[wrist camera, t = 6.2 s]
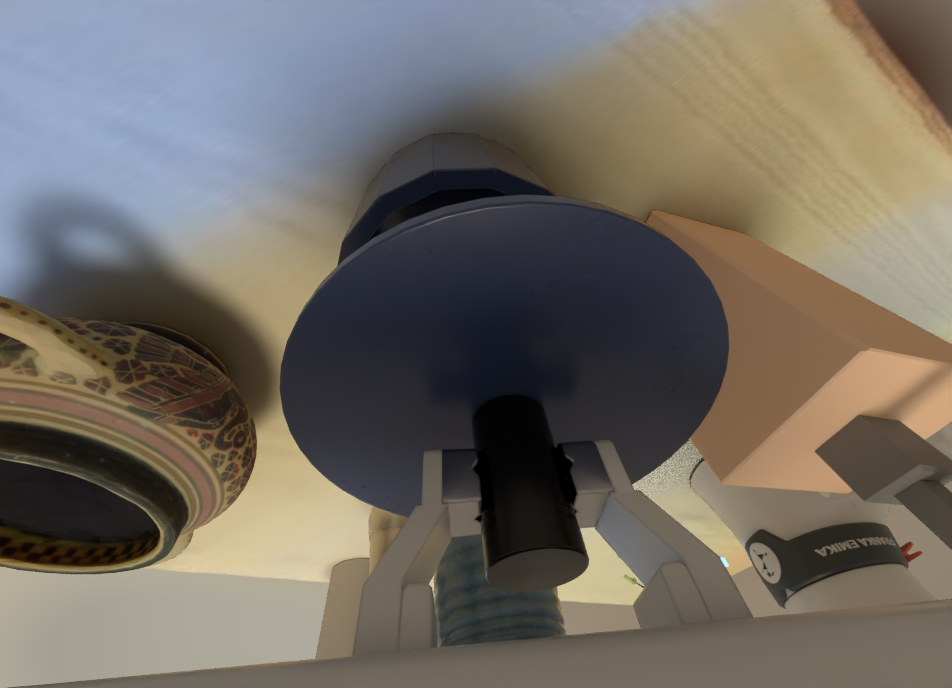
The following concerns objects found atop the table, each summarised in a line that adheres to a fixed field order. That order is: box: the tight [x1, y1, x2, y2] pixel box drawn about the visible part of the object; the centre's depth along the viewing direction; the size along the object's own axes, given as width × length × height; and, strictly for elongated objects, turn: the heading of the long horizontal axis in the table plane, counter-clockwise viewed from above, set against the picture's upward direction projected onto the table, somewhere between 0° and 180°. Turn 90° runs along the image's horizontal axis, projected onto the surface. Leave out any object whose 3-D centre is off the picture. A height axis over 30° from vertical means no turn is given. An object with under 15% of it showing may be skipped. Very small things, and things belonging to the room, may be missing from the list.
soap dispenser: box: [646, 210, 952, 549], centre depth 20 cm, size 13×9×22 cm
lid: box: [280, 195, 729, 591], centre depth 11 cm, size 14×14×6 cm
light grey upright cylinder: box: [315, 559, 370, 659], centre depth 50 cm, size 8×8×12 cm
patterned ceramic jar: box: [0, 296, 257, 574], centre depth 25 cm, size 24×18×15 cm
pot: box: [337, 133, 555, 266], centre depth 22 cm, size 13×13×10 cm
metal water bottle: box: [369, 506, 408, 575], centre depth 37 cm, size 6×7×20 cm
